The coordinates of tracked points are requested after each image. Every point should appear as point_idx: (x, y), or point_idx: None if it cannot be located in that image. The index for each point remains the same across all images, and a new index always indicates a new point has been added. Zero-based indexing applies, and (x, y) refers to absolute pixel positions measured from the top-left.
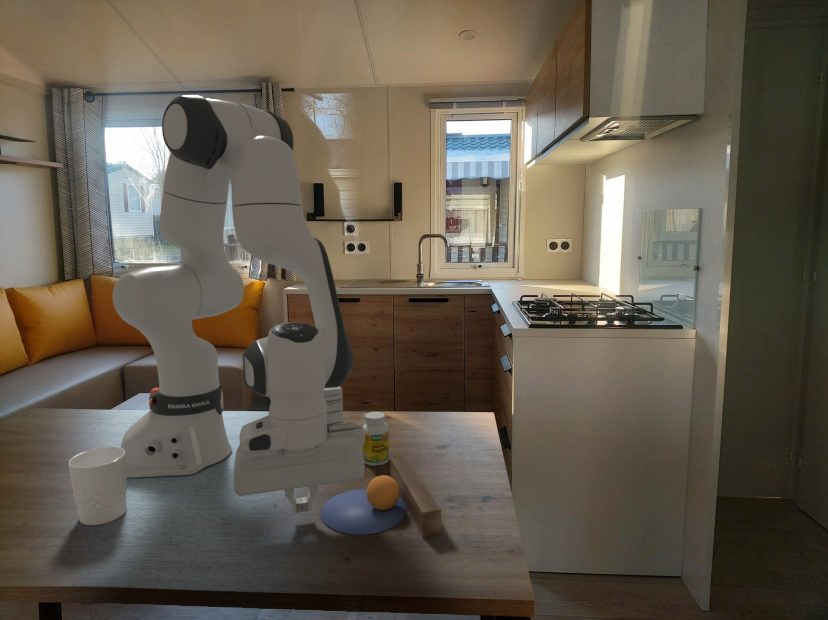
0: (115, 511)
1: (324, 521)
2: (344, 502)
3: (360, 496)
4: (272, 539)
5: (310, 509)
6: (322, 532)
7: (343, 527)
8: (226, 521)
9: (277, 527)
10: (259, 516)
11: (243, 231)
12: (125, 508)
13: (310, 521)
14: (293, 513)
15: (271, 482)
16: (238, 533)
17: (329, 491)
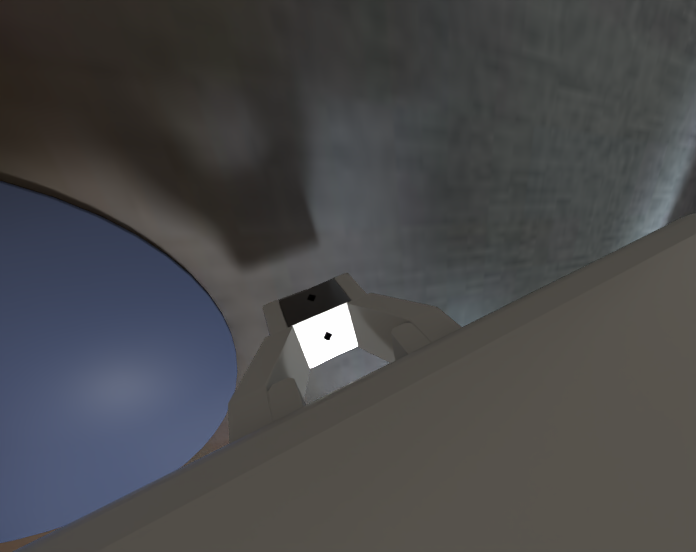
0: None
1: (187, 278)
2: (143, 421)
3: (78, 476)
4: (393, 140)
5: (268, 306)
6: (167, 193)
7: (31, 235)
8: (514, 251)
9: (382, 228)
10: (438, 285)
11: None
12: None
13: (262, 279)
14: (344, 273)
15: (650, 318)
16: (494, 188)
17: None
